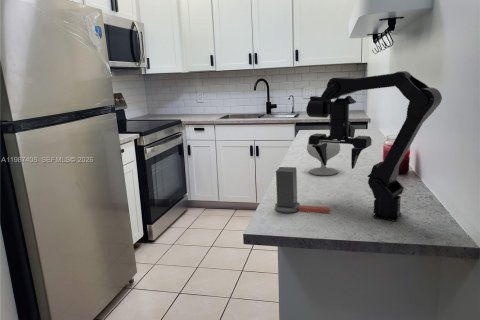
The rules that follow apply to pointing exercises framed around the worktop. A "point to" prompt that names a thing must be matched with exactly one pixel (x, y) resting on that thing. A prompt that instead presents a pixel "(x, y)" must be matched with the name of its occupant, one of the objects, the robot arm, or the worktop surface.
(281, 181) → the brushed metal block
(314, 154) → the chalice
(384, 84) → the robot arm
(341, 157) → the worktop surface
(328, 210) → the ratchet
